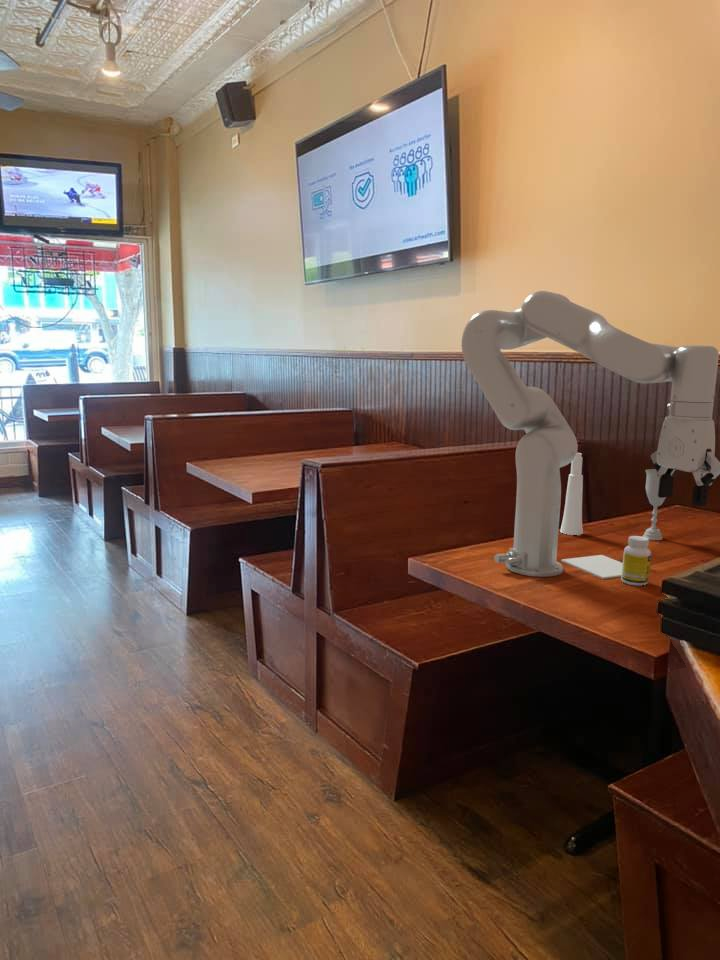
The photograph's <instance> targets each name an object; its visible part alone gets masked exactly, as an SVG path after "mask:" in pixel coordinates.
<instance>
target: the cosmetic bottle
mask: <svg viewBox="0 0 720 960" xmlns="http://www.w3.org/2000/svg"><path fill="white" fill-rule="evenodd" d="M582 455H583V453H581V452H577V454H576V456H575V458H574V459H573V461H572V462H570V464H571V465H570V473H569V474H568V480H567V487H566V493H565V504H564V508H563V509H564V510H563V516H562V521H561V526H560V530H559V532H560V533H561V534H562V533H563V535H566V534H567V536H573V535H577V536H582V535H583V534H584V529H583V492H584V491H583V490H584V489H583V487H584V486H583V485H584V484H583V481H584V477H583V476H584V475H583V474H582V473H583V471H582V469H583V456H582ZM581 534H582V535H581Z"/></svg>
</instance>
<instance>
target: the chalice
mask: <svg viewBox="0 0 720 960" xmlns="http://www.w3.org/2000/svg"><path fill="white" fill-rule="evenodd" d="M645 473H646V481H645V492H646V497H647V498H648V501H649V504H650V505H652V506H653V510H652V512H651V514H652V517H651V519H650V521H651V526H650V527H647V528H646V529H645V531H644V534H643V535H642V537H646V538H648V539H649V540H652V541H661V540H663V537H662V536H663V535H662V532H661V531H660V529H659V528H658V527H657V525H656V524H657V522H658V519H657V518H658V517H657V516H658V515H659V512H658V508H659V507H660V506H662V505H663V504H664V502H665V500H666V499H667V497H664V498H660V497H658V490H659V480H660V477H658V476H657V473H658V472H657V471H656V469H655V468H652V469H651V468H650V469H648V468H647V469H645Z"/></svg>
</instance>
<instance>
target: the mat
mask: <svg viewBox="0 0 720 960" xmlns="http://www.w3.org/2000/svg"><path fill="white" fill-rule="evenodd" d="M560 560H561V563H562V562H563V563H565V564H568V565H569V566H572V567H575V568H576V569H579V570H581V571H583V572H585V573H588V574H591V575H593V576H595V577H597V578H600V579H602V580H605V579H613V578H621V574H622V565H623V561H622V562H621V561H619V560H616V559H614V558H611V557H608V556H606V555H604V554H598V555H588V556H581V557H572V558H563V559H560Z"/></svg>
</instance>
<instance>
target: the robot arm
mask: <svg viewBox="0 0 720 960" xmlns="http://www.w3.org/2000/svg"><path fill="white" fill-rule="evenodd" d="M544 339H550V340H553V341H554V342H557V343H559V344H560V345H562V346H565V347H566V348H567V349H570V350H572V351H575V352H576V353H578V354H580V355H582V356H583V357H585V358H587V359H589V360H591V361H592V362H594V363H596V364H598V365H599V366H601V367H603V368H605V369H607V370H609V371H611V372H613V373H615V374H617V375H619V376H622V377H623V378H626V379H627V380H630V381H633V382H634V383H638V384H657V383H666V382H671V391H670V392H671V393H670V400H669V401H670V403H668V404H667V406H666V407H667V410H668V411H669V412H668V415H667V416H665V418H664V421H663V424H662V427H661V431H660V435H659V438H658V445H657V449H656V451H654V452H653V453H651V455H650V459H651V460H652V461H651V462H652V463H653V466H654V469H656V471H657V472H658V473H657V476H658V477H660V480H659V490H658V497H660V498H664V497H666V498H671V497H672V496H673V490H674V480H675V479H674V476H673V474H674V472H675V471H677V470H678V471H682V472H688V473H692V475H693V478H694V480H695V483H696V484H694V485H693V487H692V496H691V504H690V505H691V506H693V507H702V506H703V507H704V506H707V501H708V494H709V492H708V491H709V486H712V484H713V482H714V481H715V480H717V479H718V477H719V476H720V460H719V459H718V458H717V457H716V456H715V452H716V431H715V430H716V428H715V421H714V420H713V411H714V402H715V401H714V400H715V393H716V384H717V383H716V382H717V374H718V367H719V366H718V365H719V356H720V355H719V350H718V348H716V346H712V345H711V346H710V345H683V346H672V345H666V344H659V343H651V342H647V341H645V340H643V339H640V338H638V337H636V336H633V335H631V334H630V333H627V332H625V331H622V330H620V329H619V328H617V327H615V326H614V325H612V324H611V323H609V322H608V320H607V319H606V318H605V317H604V316H603V315H602V314H600V313H597V312H596V311H593V310H590V309H588V308H586V307H583V306H581V305H579V304H578V303H577V304H576V303H575V302H572V301H571V300H570V299H569V298H568V297H567V296H565V295H563V294H560V293H557V292H556V293H555V292H552V291H547V290H539V291H535V292H532V293H531V294H529V295H528V296H527V297H526V298H525V299H524V301H523V302H522V304H521V307H520V308H517V309H516V310H513V311H503V310H494V309H487V310H482V311H479V312H477V313H475V314H473V315H472V316H471V318H469V320H468V321H467V323H466V324H465V327H464V330H463V333H462V336H461V353H462V356H463V360H464V363H465V364H466V367H467V368H468V371H470V374H471V375H472V376H473V378H474V379H475V382H477V384H478V386H479V388H480V389H481V391H482V393H483V395H484V397H485V399H486V400H487V401H488V404H489V405H490V407H491V408H492V410H493V412H494V413H495V415H496V416H497V419H498V420H499V422H500V423H501V424H502V426H503V427H505V428H506V429H508V430H510V431H511V430H512V431H522V430H523V431H524V432H525V434H524V435H523V436H522V437H521V438H520V439H519V441H518V443H517V445H516V449H515V469H516V496H515V501H516V502H515V515H514V516H515V517H514V533H513V547H509V549H508V551H507V552H506V553H496V554H494V555H493V556H494V557H493V559H494V562H495V563H496V564H499V563H505V565H504V566H505V568H506V569H507V570H508V571H510V572H512V573H515V574H517V575H518V574H519V575H522V576H528V577H543V578H545V577H546V578H547V577H554V576H558V575H560V574H562V573H563V571H564V566H563V564H562V563H561V562H558V561H557V557H558V539H559V531H560V530H559V527H560V516H561V515H560V514H561V504H562V503H561V501H562V499H561V498H562V481H561V471H560V469H561V468H563V467H566V466H568V465H569V464H571V462H572V461H573V459H574V458H575V456H576V454H577V453H578V447H579V445H578V440H577V437H576V435H575V433H574V432H573V430H572V428H571V427H570V425H569V423H568V421H567V420H566V419H565V417H564V416H563V414H562V412H561V411H560V409H559V407H558V405H556V403H555V401H554V400H553V398H552V397H551V396H550V395H549V394H548V393H547V392H546V391H545V390H543V389H542V388H539V387H536V386H526V384H525V383H524V382H523V380H522V379H521V377H520V376H519V374H518V373H517V371H516V369H515V367H514V366H513V364H512V363H511V362H510V361H509V360H508V358H507V357H505V355H504V354H503V352H502V351H503V350H514V349H518V348H521V347H524V346H527V345H531V344H532V343H536V342H538V341H541V340H544ZM501 350H502V351H501Z"/></svg>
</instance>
